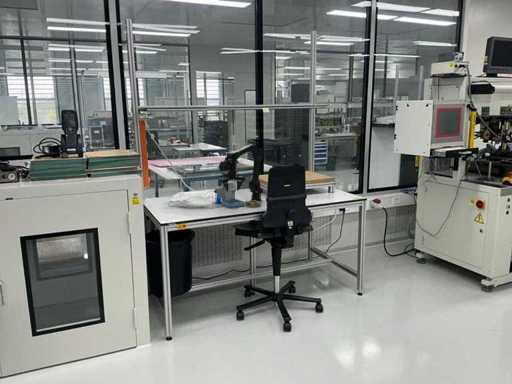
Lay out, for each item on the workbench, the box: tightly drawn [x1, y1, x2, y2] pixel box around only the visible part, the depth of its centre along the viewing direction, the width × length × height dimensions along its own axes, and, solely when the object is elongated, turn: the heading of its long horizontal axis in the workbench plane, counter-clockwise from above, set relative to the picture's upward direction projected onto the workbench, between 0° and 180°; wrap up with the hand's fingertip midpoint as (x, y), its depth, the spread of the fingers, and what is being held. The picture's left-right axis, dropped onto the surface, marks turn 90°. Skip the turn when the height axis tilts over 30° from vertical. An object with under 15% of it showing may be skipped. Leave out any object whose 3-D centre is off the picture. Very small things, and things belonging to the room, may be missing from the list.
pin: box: [230, 188, 237, 204], centre depth 301 cm, size 4×4×11 cm
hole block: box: [244, 200, 262, 209], centre depth 301 cm, size 8×8×3 cm
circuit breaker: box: [213, 181, 235, 201], centre depth 312 cm, size 8×14×15 cm, turn 104°
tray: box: [220, 198, 245, 209], centre depth 302 cm, size 13×11×3 cm
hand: (232, 191), depth 300 cm, fingers open, 9 cm apart
